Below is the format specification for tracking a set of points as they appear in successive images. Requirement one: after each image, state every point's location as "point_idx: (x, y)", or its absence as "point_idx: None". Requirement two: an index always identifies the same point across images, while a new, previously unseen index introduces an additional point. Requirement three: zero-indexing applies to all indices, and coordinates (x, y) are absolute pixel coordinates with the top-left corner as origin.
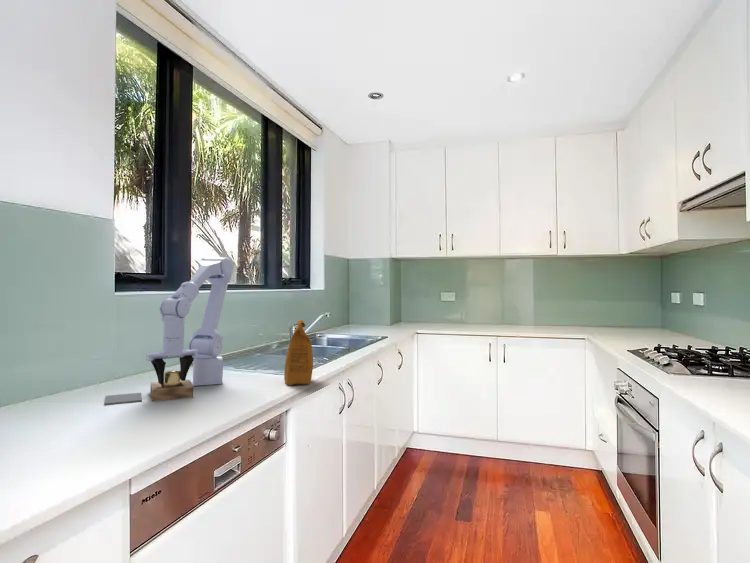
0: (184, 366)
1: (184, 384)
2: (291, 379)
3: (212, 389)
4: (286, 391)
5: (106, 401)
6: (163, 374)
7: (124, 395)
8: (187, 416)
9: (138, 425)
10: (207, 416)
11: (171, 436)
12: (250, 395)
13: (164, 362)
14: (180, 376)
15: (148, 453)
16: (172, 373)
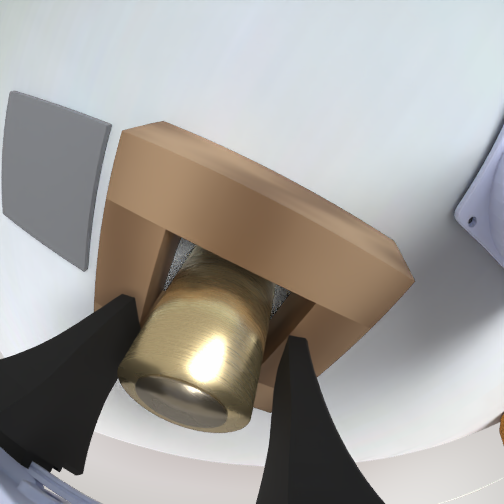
0: (265, 474)
1: (277, 362)
2: (502, 432)
3: (432, 337)
4: (450, 440)
5: (4, 189)
6: (107, 390)
7: (43, 136)
8: (167, 428)
9: None
10: (199, 446)
11: (124, 434)
12: (391, 436)
13: (73, 470)
14: (287, 358)
15: (98, 431)
16: (164, 418)
